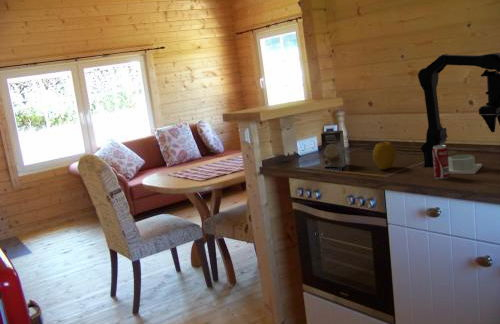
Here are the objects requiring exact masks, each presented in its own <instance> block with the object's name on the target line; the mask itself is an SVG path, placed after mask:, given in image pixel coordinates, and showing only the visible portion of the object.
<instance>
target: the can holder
mask: <svg viewBox="0 0 500 324" xmlns="http://www.w3.org/2000/svg"><path fill="white" fill-rule="evenodd" d="M475 160H476V159H475V155H473V154H455V155H450V156H448V163H449V175H475V174H476V173H478V171H479V170H480V169H481V168H482V167H483V163H476V161H475Z"/></svg>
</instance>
